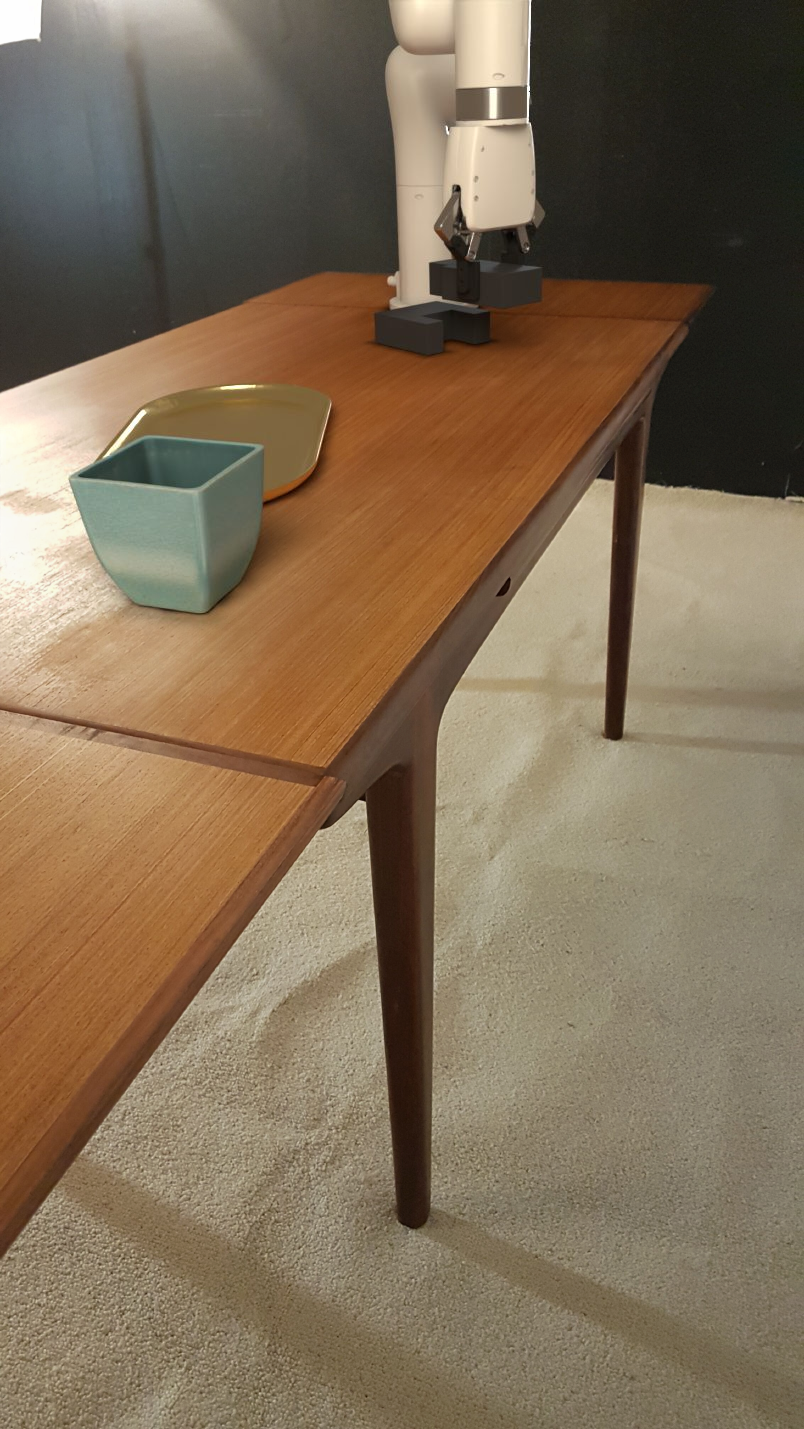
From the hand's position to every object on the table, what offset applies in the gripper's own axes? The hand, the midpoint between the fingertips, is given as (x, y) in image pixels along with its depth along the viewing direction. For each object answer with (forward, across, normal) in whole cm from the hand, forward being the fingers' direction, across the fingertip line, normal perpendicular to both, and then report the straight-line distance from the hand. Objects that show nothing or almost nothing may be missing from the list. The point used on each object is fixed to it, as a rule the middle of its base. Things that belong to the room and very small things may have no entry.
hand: (490, 293), depth 115 cm
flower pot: (+8, +58, +33) cm, 67 cm away
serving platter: (+7, +41, +8) cm, 42 cm away
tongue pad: (+1, 0, -2) cm, 2 cm away
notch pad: (+7, 0, -11) cm, 13 cm away
